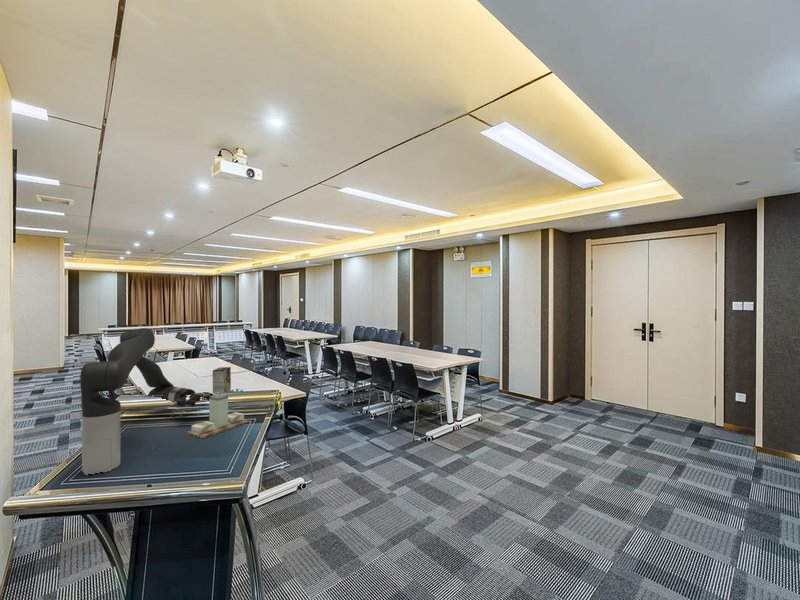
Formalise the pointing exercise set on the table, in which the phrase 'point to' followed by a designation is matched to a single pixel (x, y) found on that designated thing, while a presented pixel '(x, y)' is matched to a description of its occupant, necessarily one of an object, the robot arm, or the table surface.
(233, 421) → the rail board
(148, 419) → the table surface
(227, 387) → the coffee box
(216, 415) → the block
